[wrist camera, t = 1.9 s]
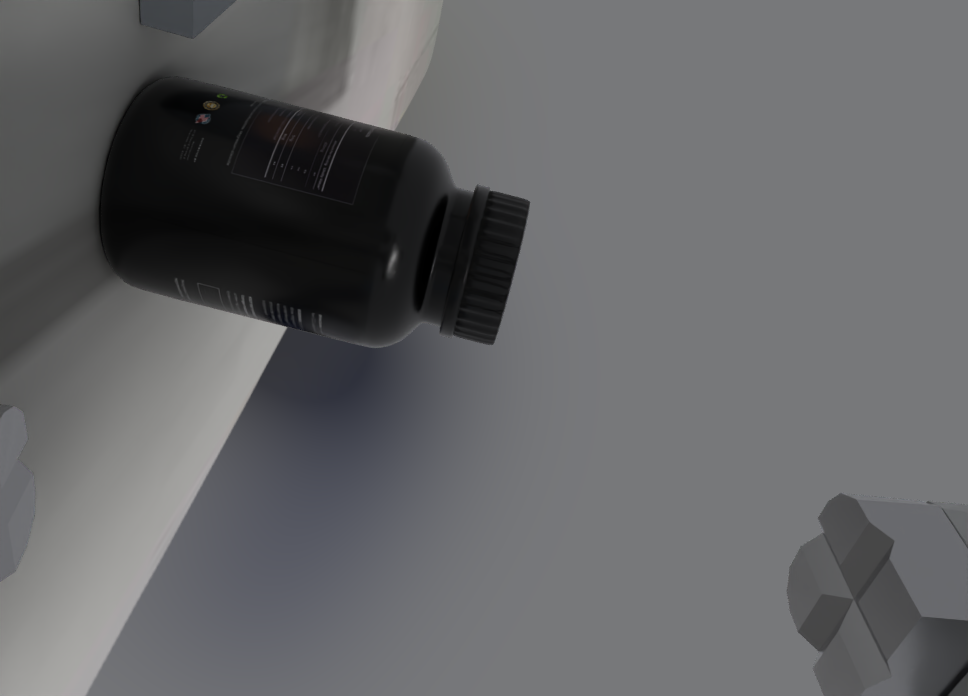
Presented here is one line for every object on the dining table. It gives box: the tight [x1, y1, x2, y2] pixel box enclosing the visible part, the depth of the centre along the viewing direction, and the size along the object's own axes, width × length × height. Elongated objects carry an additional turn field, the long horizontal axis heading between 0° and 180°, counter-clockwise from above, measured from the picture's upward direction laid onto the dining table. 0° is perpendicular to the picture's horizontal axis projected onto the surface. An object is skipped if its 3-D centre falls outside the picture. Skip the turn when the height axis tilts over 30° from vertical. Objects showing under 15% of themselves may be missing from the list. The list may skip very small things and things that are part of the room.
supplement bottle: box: [101, 77, 530, 348], centre depth 28 cm, size 7×7×12 cm
